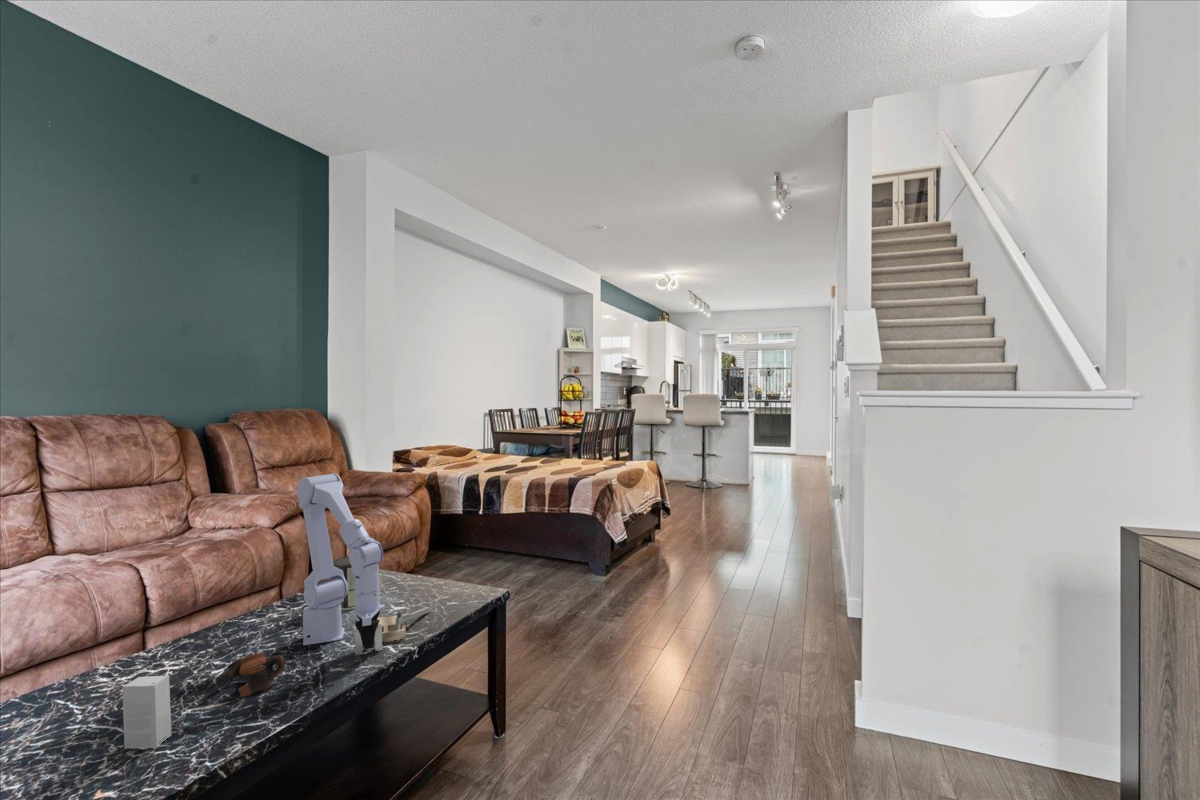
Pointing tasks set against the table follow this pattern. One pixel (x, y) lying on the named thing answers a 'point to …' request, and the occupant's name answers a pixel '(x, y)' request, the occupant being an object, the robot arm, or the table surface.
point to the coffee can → (350, 578)
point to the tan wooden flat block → (391, 629)
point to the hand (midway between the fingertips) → (368, 643)
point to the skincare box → (146, 712)
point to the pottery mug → (256, 672)
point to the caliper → (409, 617)
